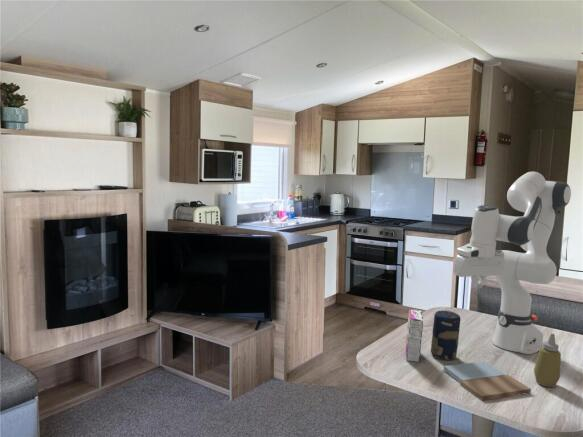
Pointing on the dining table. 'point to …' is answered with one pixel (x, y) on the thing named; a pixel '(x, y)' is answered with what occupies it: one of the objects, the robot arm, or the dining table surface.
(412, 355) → the candy bar box
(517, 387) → the floorboard
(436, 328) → the canister
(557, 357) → the squeeze bottle
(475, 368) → the plank
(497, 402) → the dining table surface
